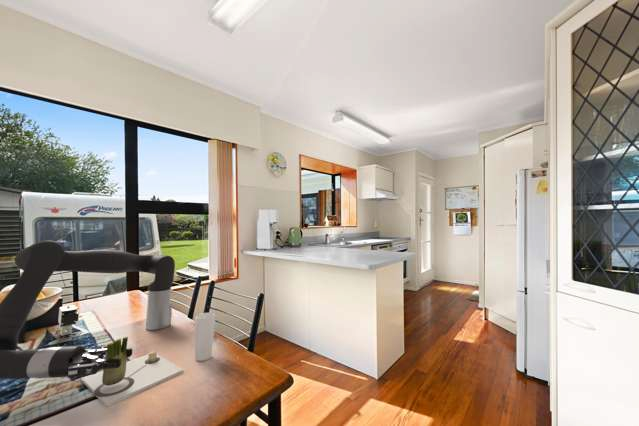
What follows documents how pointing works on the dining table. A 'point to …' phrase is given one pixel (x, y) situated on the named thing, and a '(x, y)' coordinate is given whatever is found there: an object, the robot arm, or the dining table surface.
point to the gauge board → (133, 378)
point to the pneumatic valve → (67, 318)
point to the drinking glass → (204, 335)
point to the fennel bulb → (115, 352)
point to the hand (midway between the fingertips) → (126, 357)
